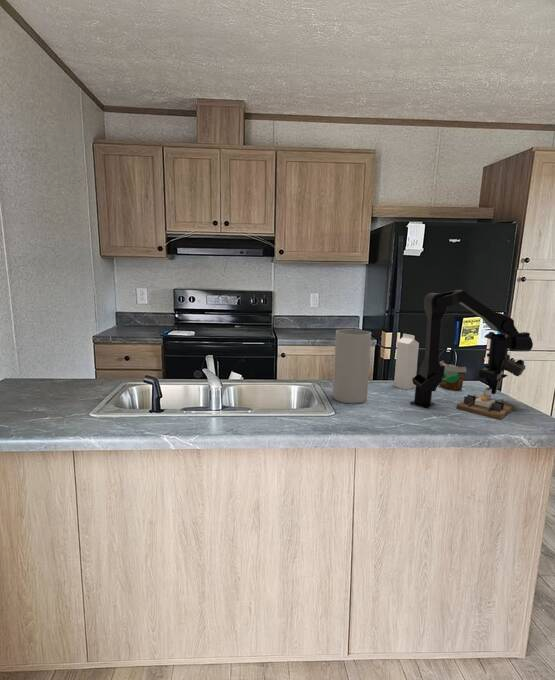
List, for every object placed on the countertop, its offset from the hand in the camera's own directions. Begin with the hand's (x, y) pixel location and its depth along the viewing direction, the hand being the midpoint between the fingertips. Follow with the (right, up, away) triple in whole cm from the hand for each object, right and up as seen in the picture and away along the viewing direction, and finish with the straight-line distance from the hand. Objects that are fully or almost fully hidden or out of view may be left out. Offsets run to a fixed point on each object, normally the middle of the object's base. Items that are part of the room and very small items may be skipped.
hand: (493, 393), depth 142 cm
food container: (-8, -1, +21) cm, 23 cm away
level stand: (-5, -5, -4) cm, 8 cm away
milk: (-26, 0, +21) cm, 33 cm away
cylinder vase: (-51, -3, +4) cm, 51 cm away
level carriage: (-6, -3, -5) cm, 8 cm away
